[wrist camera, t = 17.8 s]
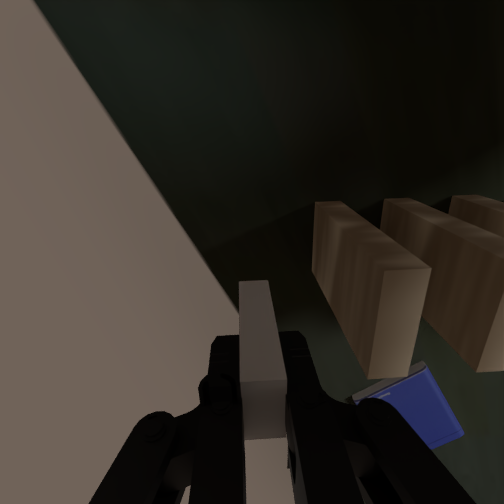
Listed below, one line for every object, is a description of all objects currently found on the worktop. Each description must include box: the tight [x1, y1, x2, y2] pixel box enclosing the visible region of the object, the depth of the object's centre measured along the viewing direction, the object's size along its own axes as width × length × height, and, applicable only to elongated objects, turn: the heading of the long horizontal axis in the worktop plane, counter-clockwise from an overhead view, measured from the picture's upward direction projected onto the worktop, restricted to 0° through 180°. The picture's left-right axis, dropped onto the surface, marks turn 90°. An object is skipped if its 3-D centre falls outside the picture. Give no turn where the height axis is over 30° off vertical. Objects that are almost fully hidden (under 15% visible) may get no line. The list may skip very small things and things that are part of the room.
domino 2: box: [380, 198, 504, 372], centre depth 19 cm, size 2×6×12 cm, turn 2°
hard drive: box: [352, 361, 464, 449], centre depth 33 cm, size 2×8×12 cm
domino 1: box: [312, 201, 432, 379], centre depth 19 cm, size 2×6×12 cm, turn 2°
